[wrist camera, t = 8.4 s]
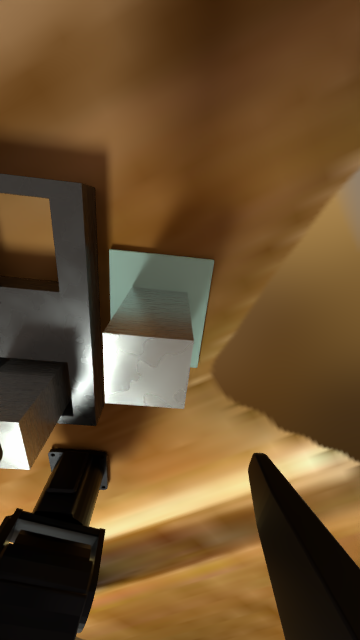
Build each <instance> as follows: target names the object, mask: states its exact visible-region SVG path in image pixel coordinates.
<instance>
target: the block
mask: <svg viewBox="0 0 360 640" xmlns="http://www.w3.org/2000/svg"><path fill="white" fill-rule="evenodd" d="M71 398H72V397H71V388H70V379H69V371H68V362H56V361H43V360H30V359H17V358H11V359H10V360H8V361H7V362H6V363H5V364H4V365H3V366H1V367H0V444H1V447H2V450H3V457H2V459H1V462H0V468H7V469H26V470H30V469H31V467H32V465H33V464H34V462H35V460H36V458H37V457H38V455H39V453H40V451H41V450H42V448H43V446H44V445H45V443H46V441H47V439H48V438H49V436H50V434H51V432H52V431H53V429H54V427H55V426H56V424H57V422H58V420H59V419H60V417H61V415H62V414H63V412H64V410H65V408H66V407H67V405H68V403H69V401H70V400H71Z"/></svg>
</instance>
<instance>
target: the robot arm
mask: <svg viewBox="0 0 360 640" xmlns="http://www.w3.org/2000/svg"><path fill="white" fill-rule="evenodd" d="M48 456H49V461H50V466H51V472H52V473H51V475H50V477H49V479H48V481H47V483H46V485H45V487H44V489H43V491H42V493H41V495H40V497H39V499H38V502H37V504H36V506H35V508H34V510H33V512H32V513H30V512H26V511H23V509H19V508H17V509H16V511H15V512H14V514H13V515H11V516H6V517H5V519H4V520H3V522H2V524H1V526H0V640H75V637H76V634H77V633H81V631H82V630H83V628H84V626H85V623H86V621H87V618H88V615H89V612H90V609H91V606H92V602H93V599H94V595H95V591H96V586H97V581H98V575H99V568H100V562H101V555H102V548H103V542H104V535H105V529H102V528H100V529H97V528H92V527H89V524H90V521H91V517H92V514H93V510H94V507H95V503H96V500H97V496H98V493H99V490H105V489H107V487H108V461H107V453H106V452H102V451H85V450H68V449H51V450H50V452H49V453H48ZM2 457H3V450H2V447H1V444H0V462H1V459H2ZM248 474H249V481H250V487H251V493H252V500H253V506H254V512H255V518H256V524H257V528H258V533H259V537H260V541H261V544H262V548H263V552H264V556H265V560H266V564H267V568H268V572H269V576H270V580H271V584H272V588H273V592H274V596H275V600H276V604H277V608H278V612H279V616H280V620H281V624H282V628H283V632H284V636H285V640H360V568H359V567H358V566H357V565H356V564H355V562H354V561H353V560H352V559H351V557H350V556H349V555H348V554H347V553H346V551H345V550H344V549H343V548H342V546H341V545H340V544H339V543H338V542H337V540H336V539H335V538H334V537H333V535H332V534H331V533H330V532H329V531H328V529H327V528H326V527H325V526H324V525H323V523H322V522H321V521H320V520H319V518H318V517H317V516H316V515H315V514H314V512H313V511H312V510H311V509H310V507H309V506H308V505H307V504H306V503H305V501H304V500H303V499H302V498H301V496H300V495H299V494H298V493H297V492H296V490H295V489H294V488H293V487H292V486H291V484H290V483H289V482H288V481H287V479H286V478H285V477H284V476H283V475H282V473H281V472H280V471H279V470H278V468H277V467H276V466H275V465H274V464H273V462H272V461H271V460H270V459H269V457H268V456H267V455H266V454H264V453H254V454H253V456H252V458H251V461H250V464H249V468H248ZM9 542H13V544H11V543H9Z"/></svg>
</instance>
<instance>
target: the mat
mask: <svg viewBox="0 0 360 640" xmlns="http://www.w3.org/2000/svg"><path fill="white" fill-rule="evenodd" d="M109 265H110V315H111V319H112V317H113V316H114V314H115V313H116V311H117V310H118V308H119V306H120V305H121V303H122V302H123V300H124V299H125V297H126V295H127V294H128V292H129V291H130V289H131V288H132V287H137V288H147V289H157V290H167V291H177V292H187V293H188V300H189V307H190V315H191V322H192V330H193V337H194V344H193V351H192V358H191V364H190V367H194V368H197V365H198V359H199V353H200V346H201V340H202V334H203V328H204V322H205V315H206V309H207V303H208V297H209V291H210V284H211V278H212V272H213V266H214V260H212V259H203V258H193V257H184V256H174V255H165V254H155V253H145V252H136V251H126V250H117V249H109Z"/></svg>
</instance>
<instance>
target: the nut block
mask: <svg viewBox="0 0 360 640" xmlns="http://www.w3.org/2000/svg"><path fill="white" fill-rule="evenodd" d="M193 344H194V337H193V330H192V322H191V315H190V307H189V300H188V293H187V292H177V291H167V290H157V289H147V288H137V287H132V288H131V289H130V291H129V292H128V294H127V295H126V297H125V299H124V300H123V302H122V303H121V305H120V306H119V308H118V310H117V311H116V313H115V314H114V316H113V317H112V319H111V321H110V322H109V324H108V325H107V327H106V328H105V330H104V332H103V357H104V386H105V403H110V404H124V405H138V406H152V407H166V408H180V409H184V405H185V398H186V391H187V385H188V378H189V371H190V364H191V358H192V351H193Z"/></svg>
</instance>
